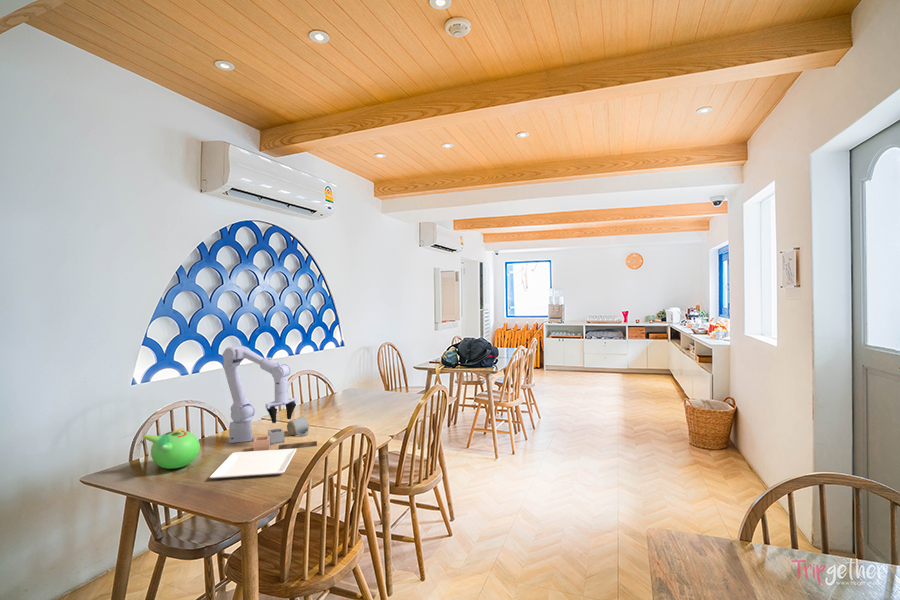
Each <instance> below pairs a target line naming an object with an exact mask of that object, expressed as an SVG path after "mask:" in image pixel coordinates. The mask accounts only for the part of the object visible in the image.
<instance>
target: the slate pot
mask: <svg viewBox="0 0 900 600" xmlns="http://www.w3.org/2000/svg"><path fill="white" fill-rule="evenodd" d="M267 436H270V446H271V445H275V444H282V443H283V444H284V443H285V431H284V429H283V428H275V429H267Z"/></svg>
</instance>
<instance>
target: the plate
mask: <svg viewBox="0 0 900 600" xmlns="http://www.w3.org/2000/svg"><path fill="white" fill-rule="evenodd" d="M297 449H298V448H292V449H281V450H279V449H269V450H264V451H254V450H251V451H235V452H232V453H231V454H230V455H228V457H227V458H226V459H225V460H224V461H223V462H222V463H221V464H220V465H219V466H218V467H217V468H216V470H214V472H213V473H211V475H210V476H209V478H210V479H229V478H239V477H240V478H241V477H242V478H243V477H245V478H246V477H258V476H270V475H271V476H275V475H281V474H284V473H285V471H286V469H287V467H288V466H289V464H290V462H291V460H292V459H293V457H294V455H295V453H296V451H297Z"/></svg>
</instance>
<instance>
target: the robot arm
mask: <svg viewBox="0 0 900 600" xmlns="http://www.w3.org/2000/svg"><path fill="white" fill-rule="evenodd" d="M221 356H222V359H223V370H224V373H225V376H226V377H225V378H226V380H227V384H228V388H229V390H230V391H229V392H230V395H231V398H232V405H231V407H230V418H231V420H232V421H230V422H229V427H228V428H229V430H228V434H229V435H228V436H229V437H228V439H229V442H228V443H229V444H233V443H234V444H235V443H245V442H252V440H253V439H254V434H253V432H252V431H253V430H252V424H253V423H252V420H253V417H254V416H255V413H256V409H255V407H254V406H253V404H252V402H251V400H249V399H247V397H246V393H245V389H244V387H243V381H242V379H241V375H240V373H239V369H238V367H239V366H240V365H239V364H240V363H242V361H244V360H245V359H246V360H249V361H251V362H252V363H255V364H256V365H259V368H260V369H261V370H263V371H265V372H266V373H269V374H271V376H272V378H273V381H274V401H270V402H267V403H265V409H266V411H267V413H268V415H269V417H270V420H271V423H272V424H276V423H277V413H278V408H276V407H279V406H285V409H286V419H287V420H289V421H291V420H292V416H293V412H294V410H295V408H296V407H297V397H292V398H289V382H288V381H289V377H288V376H289V375H290V374H291V368H290V366H288V364H286V363H283V364H281V362H279V361H278V362H277V361H275V360H274V359H273V358H272V357H265V358H264V357H263V356H261V355H259V354H258V353H256V352H254V351H252V349H250V348H249V347H247V346H245V345H237V346H231V347H227V348H225V349H224V351H223V352H222V354H221Z"/></svg>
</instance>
